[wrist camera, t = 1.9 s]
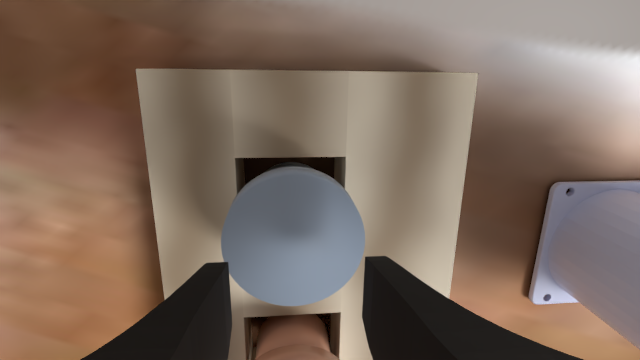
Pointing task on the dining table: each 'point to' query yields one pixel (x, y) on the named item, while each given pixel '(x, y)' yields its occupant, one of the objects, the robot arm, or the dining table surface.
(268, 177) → the slate-blue plug
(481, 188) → the dining table surface
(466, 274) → the dining table surface
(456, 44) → the dining table surface
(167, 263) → the panel
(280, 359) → the terracotta plug
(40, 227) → the dining table surface
